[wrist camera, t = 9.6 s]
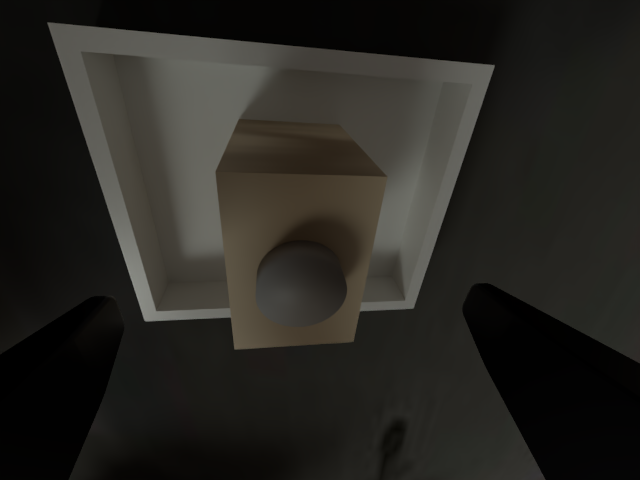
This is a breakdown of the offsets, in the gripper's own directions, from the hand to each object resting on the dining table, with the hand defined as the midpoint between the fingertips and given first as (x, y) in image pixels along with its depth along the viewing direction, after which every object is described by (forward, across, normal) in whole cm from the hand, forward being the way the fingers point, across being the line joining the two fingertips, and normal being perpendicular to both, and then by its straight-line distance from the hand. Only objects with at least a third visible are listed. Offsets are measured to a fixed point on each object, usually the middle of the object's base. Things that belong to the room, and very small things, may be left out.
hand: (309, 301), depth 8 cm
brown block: (+7, 0, 0) cm, 7 cm away
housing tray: (+8, 0, 0) cm, 8 cm away
